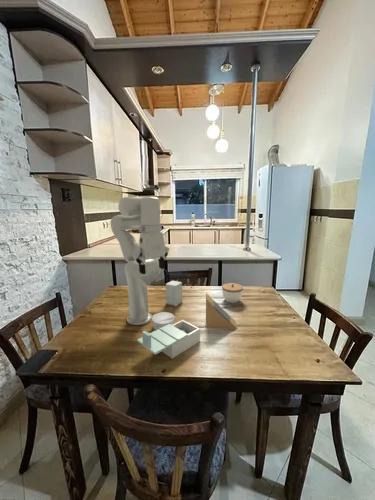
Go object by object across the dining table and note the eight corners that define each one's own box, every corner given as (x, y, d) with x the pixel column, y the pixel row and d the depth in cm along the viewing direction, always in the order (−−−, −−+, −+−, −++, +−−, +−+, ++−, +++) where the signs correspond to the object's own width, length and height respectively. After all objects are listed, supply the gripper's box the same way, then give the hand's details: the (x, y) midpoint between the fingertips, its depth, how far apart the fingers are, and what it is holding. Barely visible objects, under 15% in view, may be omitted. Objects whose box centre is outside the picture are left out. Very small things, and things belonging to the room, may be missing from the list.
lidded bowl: (227, 294, 151) (227, 278, 148) (245, 299, 143) (246, 282, 141) (218, 301, 141) (218, 284, 138) (237, 306, 133) (238, 288, 131)
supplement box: (182, 301, 141) (182, 282, 138) (175, 306, 135) (175, 286, 132) (173, 299, 145) (172, 280, 142) (165, 303, 139) (165, 283, 136)
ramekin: (166, 336, 105) (166, 325, 104) (147, 329, 111) (146, 319, 110) (179, 324, 115) (179, 315, 114) (160, 319, 120) (160, 310, 119)
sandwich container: (238, 329, 110) (239, 300, 107) (206, 328, 111) (206, 299, 108) (235, 320, 119) (236, 293, 116) (205, 319, 120) (205, 292, 116)
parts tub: (155, 346, 98) (154, 333, 97) (182, 331, 109) (182, 319, 108) (172, 358, 90) (172, 344, 89) (200, 341, 101) (200, 328, 100)
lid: (137, 341, 91) (136, 327, 90) (169, 325, 102) (169, 313, 101) (155, 354, 83) (154, 340, 82) (187, 336, 94) (187, 323, 93)
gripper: (137, 232, 82) (139, 278, 86) (173, 228, 94) (174, 268, 98) (126, 230, 87) (129, 273, 91) (162, 226, 99) (163, 265, 103)
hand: (152, 270), depth 94 cm, fingers open, 9 cm apart
